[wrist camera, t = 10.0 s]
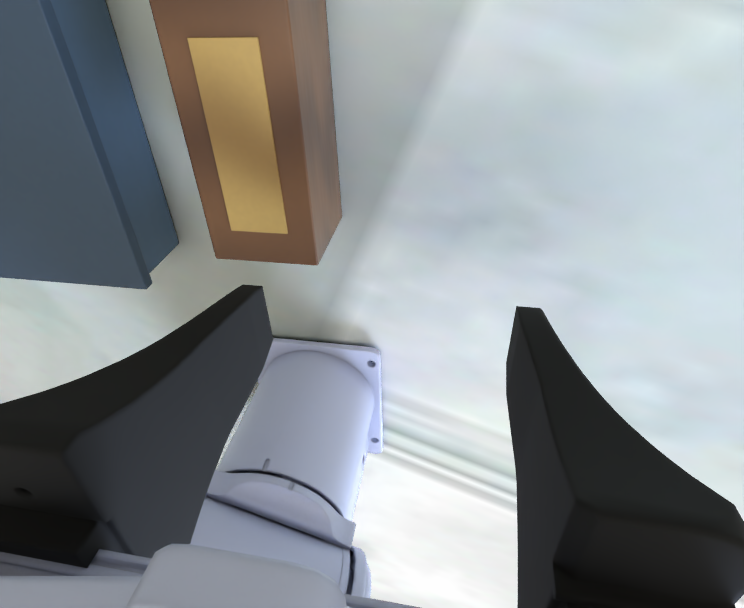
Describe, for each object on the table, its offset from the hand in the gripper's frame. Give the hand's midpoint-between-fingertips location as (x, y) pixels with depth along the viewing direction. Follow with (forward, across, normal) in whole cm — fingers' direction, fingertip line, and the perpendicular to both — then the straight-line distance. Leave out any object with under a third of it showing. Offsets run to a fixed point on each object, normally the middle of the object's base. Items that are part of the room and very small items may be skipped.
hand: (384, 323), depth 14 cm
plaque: (+10, +6, -3) cm, 12 cm away
